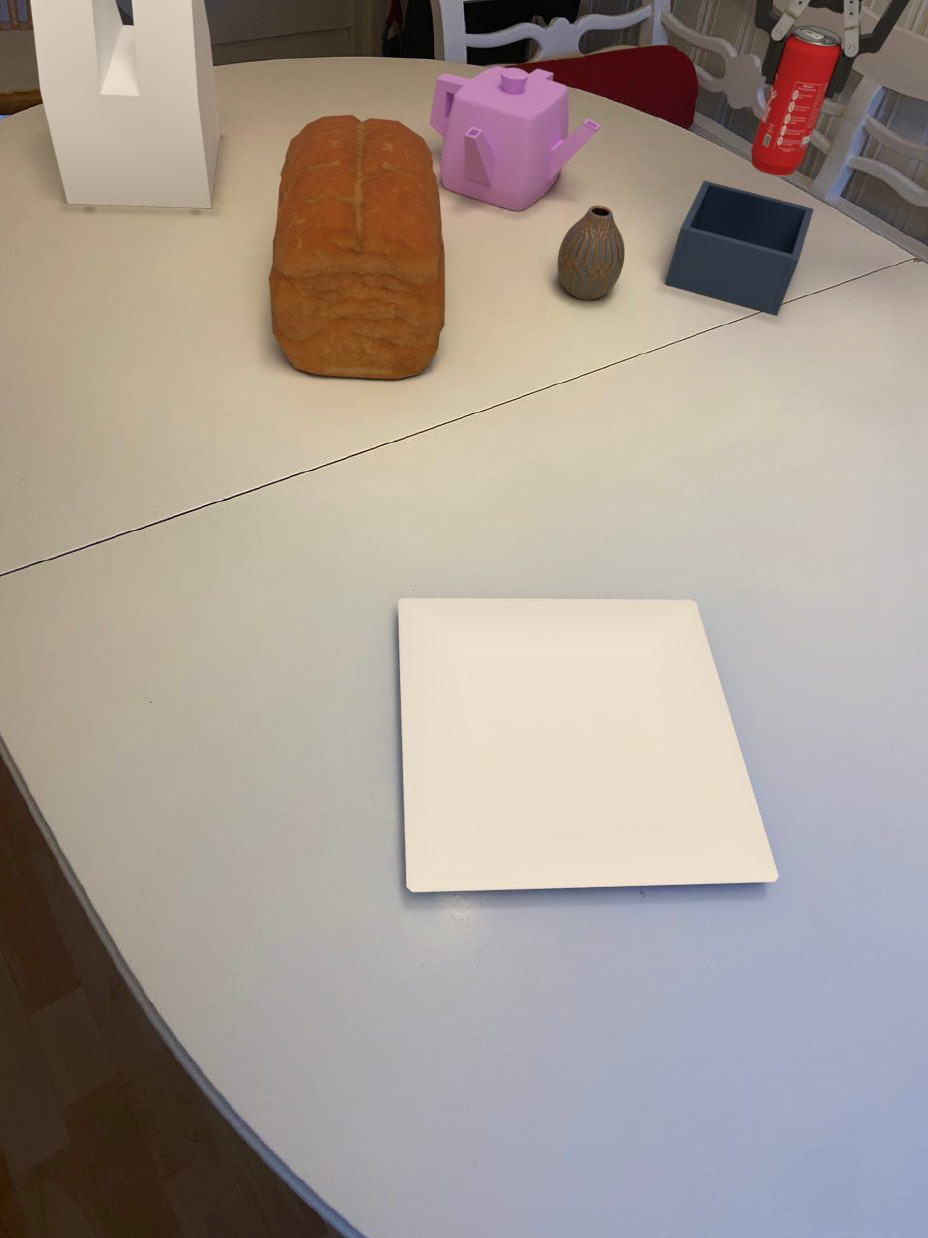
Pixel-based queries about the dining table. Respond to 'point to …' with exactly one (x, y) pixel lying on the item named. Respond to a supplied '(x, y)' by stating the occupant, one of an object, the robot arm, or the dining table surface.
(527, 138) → the teakettle
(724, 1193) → the dining table surface
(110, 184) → the white notched block
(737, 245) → the tub
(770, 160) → the beverage can
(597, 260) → the vase
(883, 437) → the dining table surface
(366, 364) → the bread
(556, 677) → the plate
